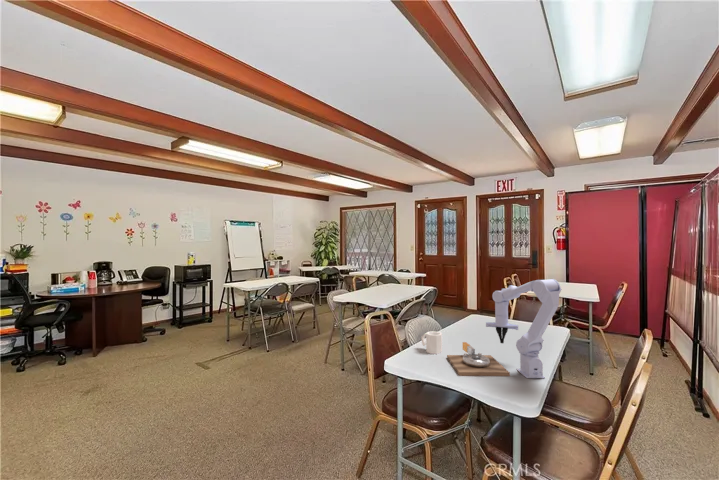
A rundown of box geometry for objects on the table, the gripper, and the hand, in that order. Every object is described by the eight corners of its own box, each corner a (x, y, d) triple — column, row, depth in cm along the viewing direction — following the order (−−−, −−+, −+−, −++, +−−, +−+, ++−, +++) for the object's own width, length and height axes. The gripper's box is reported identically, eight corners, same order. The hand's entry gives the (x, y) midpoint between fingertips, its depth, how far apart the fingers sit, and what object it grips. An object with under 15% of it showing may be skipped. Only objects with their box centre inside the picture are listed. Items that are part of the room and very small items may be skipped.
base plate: (509, 376, 141) (509, 372, 141) (459, 375, 141) (459, 371, 141) (490, 357, 163) (490, 354, 163) (446, 357, 164) (446, 354, 164)
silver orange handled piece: (494, 366, 146) (494, 354, 146) (469, 367, 145) (469, 355, 145) (475, 352, 166) (475, 341, 166) (453, 353, 165) (452, 342, 165)
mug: (445, 351, 173) (444, 333, 174) (437, 355, 167) (436, 336, 167) (425, 346, 182) (425, 329, 182) (417, 350, 175) (417, 332, 175)
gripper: (518, 314, 158) (518, 342, 158) (486, 312, 165) (486, 338, 164) (518, 317, 152) (518, 346, 152) (485, 314, 158) (485, 342, 158)
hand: (502, 342), depth 158 cm, fingers closed
